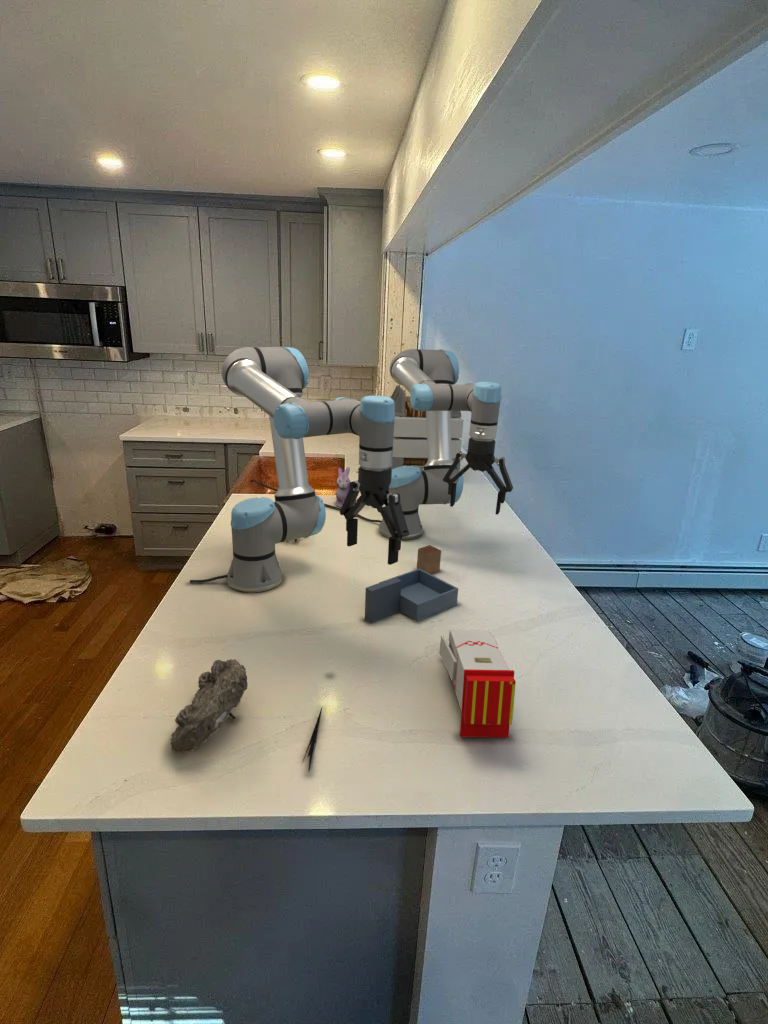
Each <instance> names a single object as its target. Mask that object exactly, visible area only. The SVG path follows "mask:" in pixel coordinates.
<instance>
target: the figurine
mask: <svg viewBox="0 0 768 1024" xmlns="http://www.w3.org/2000/svg"><path fill="white" fill-rule="evenodd" d="M350 470H351V469H350V466H347V467H346V468H345V470H344V471H343V469H342V467H338V469H337V471H338V472H337V473H338V477H337V479H336V486H337V489H336V492H335V498H336V500H335V505H336V507H338V508H342V505H343V503H344V501H345V499H346V496H347V494H348V492H349V487H350V482H351V479H350V477H349V474H350ZM356 502H357V500H356V501H355V503H356ZM355 503H354V504H355Z"/></svg>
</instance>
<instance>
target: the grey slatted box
mask: <svg viewBox="0 0 768 1024" xmlns="http://www.w3.org/2000/svg"><path fill="white" fill-rule="evenodd" d="M390 398H391V399H393V401H394V403H395V421H394V437H393V457H392V466H391V467H390V468H391V469H394V468H397V467H401V466H416V467H424V465H425V464H426V463H427V462H428V453H427V427H426V411H420V410H414V409H413V408H412V407H411V403H410V395H407V393H406V389H404V388H402V387H401V385H399V384H397V385H396V386H395V388H394V389H393V392H392V393H391V395H390ZM450 417H451V442H452V460H453V462H454V461H455V457H456V454H457V453H458V452H459V451H461V452H462V443H463V442H462V438H463V431H464V419H463V418H462V411H450ZM461 462H462V460H460V462H459V464H458V465H457V470H459V471H461Z"/></svg>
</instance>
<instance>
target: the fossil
mask: <svg viewBox="0 0 768 1024" xmlns="http://www.w3.org/2000/svg"><path fill="white" fill-rule="evenodd" d="M197 683H198V684H197V687H198V690H197V691H196V693H195V694H194V697H193V698H192V701H191V704H187V705H185V706H184V707H183V708H182V709H181V710H179V712H178V713H177V715H176V717H175V719H174V721H175V723H176V725H177V726H176V728H175V730H174V731H173V732H172V733H171V735H170V736H171V738H170V747H171V750H172V751H176V752H178V753H186V752H190V751H193V752H195V751H197V750H198V749H199V748H200V747H201V746H202V745H203V744H204V743H205V742H207V741H208V740H209V739H210V737H211V736H212V735H213V734H215V733H216V731H218V730H219V729H220V728H221V726H222V725H223V723H224V721H225V720H226V719H227V718H228V717H230V718H232V720H235V719H236V716H235V715H234V714H233V713H232V710H233V709H235V708H237V706H238V705H239V704H240V702H241V700H242V698H243V696H244V693H245V691H246V690H247V689H248V686H249V685H248V675H247V669H246V668H245V666H244V665H243V664H241V663H240V661H238V660H237V659H236V658H234V659H232V658H230V659H226V660H221V659H216V660H214V661H213V662H212V665H211V667H210V671H208V670H207V671H205V672H201V674H200V675H199V676H198V681H197Z"/></svg>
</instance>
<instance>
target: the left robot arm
mask: <svg viewBox="0 0 768 1024" xmlns="http://www.w3.org/2000/svg"><path fill="white" fill-rule="evenodd" d="M221 366H222V367H221V377H222V381H223V383H224V385H225V386H226V388H228V390H229V391H231V392H232V393H233V394H235V395H237V396H239V397H243V398H244V397H245V398H247V400H249V401H250V402H252V403H253V404H254V405H255V406H257V408H259V409H261V410H262V411H263V412H264V413H265V414H267V415H268V417H269V423H270V431H271V439H272V448H273V456H274V462H275V469H276V470H275V471H276V476H277V477H276V478H277V485H278V488H277V489H278V491H275V493H274V501H273V499H271V498H268V497H264V496H263V497H251V498H247V499H244V500H242V501H240V502H238V503H236V504H235V505H234V506H233V507H232V509H231V512H230V527H231V541H232V544H231V545H232V558H231V559H232V560H231V562H230V565H229V569H228V572H227V574H224V575H218V576H215V577H210V578H205V579H190V580H189V584H202V583H209V582H214V581H218V580H222V579H227V585H228V586H229V587H230V588H231V589H233V590H236V591H238V592H242V593H261V592H266V591H269V590H273V589H275V588H277V587H278V586H280V584H282V582H283V571H282V567H281V564H280V563H281V562H280V560H279V559H278V558H277V554H276V545H277V544H281V543H285V542H286V541H288V542H290V541H295V539H297V540H299V539H307V538H309V537H312V536H315V535H318V534H319V533H320V532H321V531H322V530H323V528H324V526H325V523H326V518H327V517H326V516H327V512H326V511H327V510H326V506H325V505H324V504H325V503H324V500H323V499H322V497H321V496H319V495H318V494H316V491H315V489H314V488H313V487H312V486H311V485H310V484H309V476H308V468H307V459H306V452H305V443H304V438H312V437H322V436H331V435H342V434H352V435H356V436H358V439H359V440H358V441H359V442H358V465H359V467H358V471H357V472H358V473H357V480H353V481H350V487H349V492H348V494H347V496H346V499H345V501H344V503H343V505H342V507H340V508H341V510H339V514H340V516H344V519H345V531H346V546H347V547H348V548H349V547H352V546H355V545H358V531H359V528H358V527H359V519H358V518H357V517H358V516H357V514H359V513H360V512H361V511H362V510H363V509H364V508H365V506H367V507H372V508H373V509H375V510H376V511H377V512H378V513H380V515H381V517H382V519H384V521H385V523H386V525H387V528H388V530H389V532H390V534H391V536H392V537H389V538H388V549H387V565H389V566H391V565H394V564H396V563H398V562H399V553H400V551H401V550H402V540H401V538H404V537H406V536H409V531H408V527H407V524H406V521H405V517H404V514H403V510H402V507H401V504H400V494H399V493H395V494H392V493H390V492H389V486H390V484H391V477H392V469H391V468H390V467H391V466H392V457H393V437H394V421H395V403H394V401H393V399H391V397H389V396H382V395H366V396H365V395H364V396H363V397H361V399H360V400H357V399H355V398H352V397H344V396H340V397H336V398H335V399H333V400H323V401H306V400H305V399H303V398H302V397H303V395H304V392H303V389H305V388H306V387H308V384H309V378H310V374H309V373H310V372H309V367H308V363H307V361H306V358H305V357H304V355H303V354H302V353H301V351H300V350H298V349H297V348H295V347H290V346H245V347H240V348H238V349H235V350H234V351H232V352H231V353H229V354H228V355H227V357H226V358H225V359H224V361H223V364H222V365H221ZM359 494H360V495H359ZM355 501H356V503H355ZM354 503H355V504H354ZM395 531H396V532H395ZM286 543H287V542H286Z"/></svg>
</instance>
